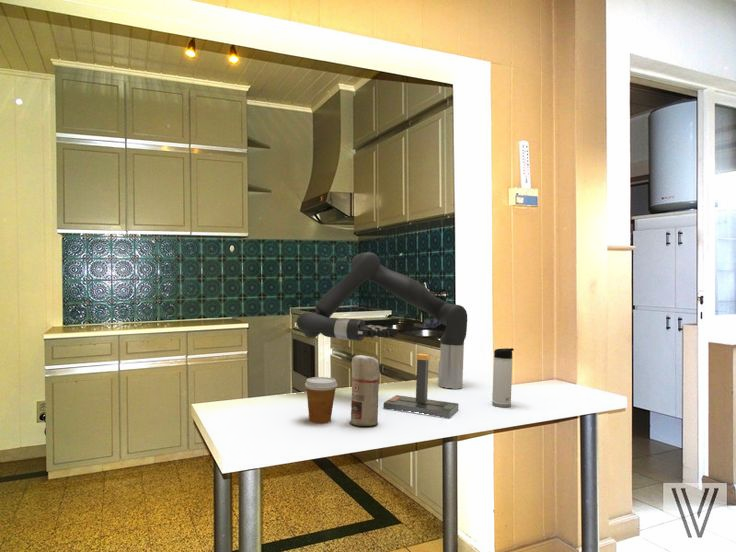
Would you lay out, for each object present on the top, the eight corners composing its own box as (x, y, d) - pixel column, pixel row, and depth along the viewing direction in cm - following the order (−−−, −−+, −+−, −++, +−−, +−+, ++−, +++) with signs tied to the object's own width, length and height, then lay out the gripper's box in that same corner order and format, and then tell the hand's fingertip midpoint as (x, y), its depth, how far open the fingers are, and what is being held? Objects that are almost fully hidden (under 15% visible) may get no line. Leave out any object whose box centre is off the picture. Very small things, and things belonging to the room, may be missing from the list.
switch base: (383, 408, 161) (383, 401, 161) (396, 400, 172) (396, 394, 172) (449, 418, 153) (449, 411, 153) (458, 409, 164) (458, 403, 164)
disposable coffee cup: (297, 419, 146) (298, 379, 146) (322, 414, 152) (323, 375, 152) (317, 427, 139) (318, 384, 139) (342, 421, 146) (344, 380, 146)
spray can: (345, 420, 147) (348, 353, 147) (371, 418, 150) (373, 352, 150) (355, 428, 139) (357, 358, 139) (382, 426, 142) (384, 357, 142)
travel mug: (512, 408, 168) (514, 349, 168) (492, 406, 169) (494, 348, 169) (511, 404, 174) (513, 347, 174) (491, 402, 175) (493, 346, 175)
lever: (414, 401, 162) (416, 354, 162) (418, 399, 165) (419, 353, 165) (424, 403, 160) (426, 355, 160) (427, 401, 163) (429, 354, 164)
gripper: (341, 319, 167) (386, 323, 160) (358, 317, 180) (400, 321, 173) (340, 341, 167) (385, 346, 160) (357, 338, 180) (399, 342, 173)
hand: (393, 333), depth 167 cm, fingers open, 8 cm apart
